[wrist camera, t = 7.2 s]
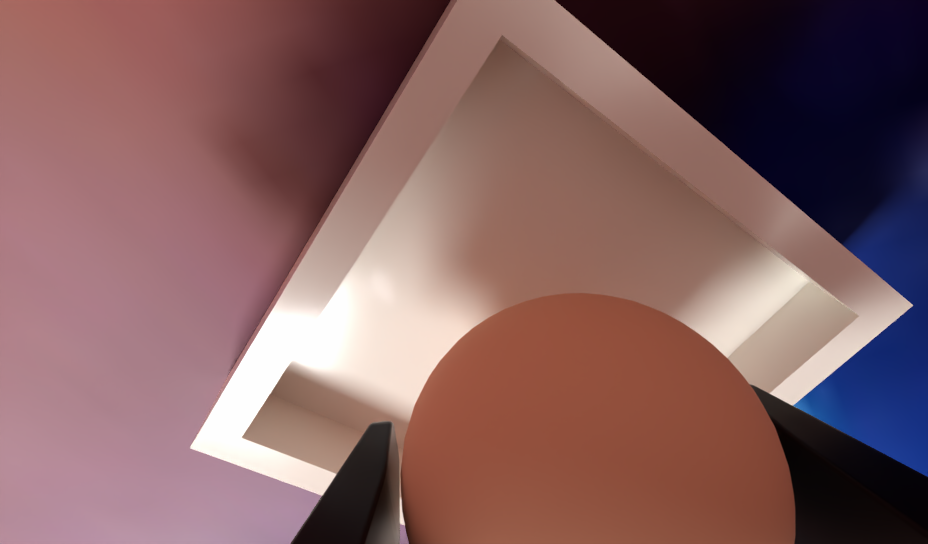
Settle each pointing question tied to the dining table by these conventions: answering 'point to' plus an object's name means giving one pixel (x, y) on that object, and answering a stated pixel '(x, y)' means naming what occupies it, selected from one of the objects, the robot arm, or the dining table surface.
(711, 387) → the ball
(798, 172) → the dining table surface
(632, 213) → the tray
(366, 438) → the robot arm
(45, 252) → the dining table surface
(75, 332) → the dining table surface
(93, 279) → the dining table surface
